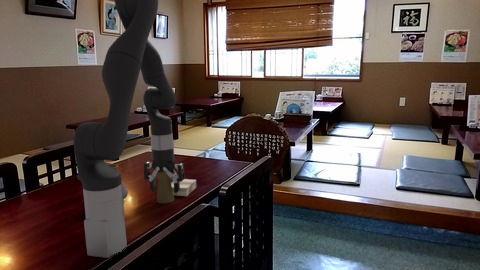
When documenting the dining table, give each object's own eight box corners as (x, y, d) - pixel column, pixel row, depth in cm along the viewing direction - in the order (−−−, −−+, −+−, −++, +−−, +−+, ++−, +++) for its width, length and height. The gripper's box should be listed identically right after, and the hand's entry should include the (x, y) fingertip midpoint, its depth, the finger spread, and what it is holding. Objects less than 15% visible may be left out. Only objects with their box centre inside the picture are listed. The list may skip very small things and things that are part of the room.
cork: (170, 203, 125) (168, 173, 123) (154, 202, 126) (152, 172, 124) (176, 197, 131) (175, 168, 129) (161, 196, 132) (159, 167, 130)
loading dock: (186, 196, 132) (186, 188, 131) (166, 194, 134) (166, 187, 133) (196, 187, 141) (196, 179, 141) (177, 185, 143) (176, 178, 143)
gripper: (138, 148, 123) (141, 194, 126) (177, 150, 120) (180, 196, 123) (148, 143, 130) (151, 187, 133) (186, 145, 127) (188, 189, 130)
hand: (165, 191), depth 128 cm, fingers open, 8 cm apart
